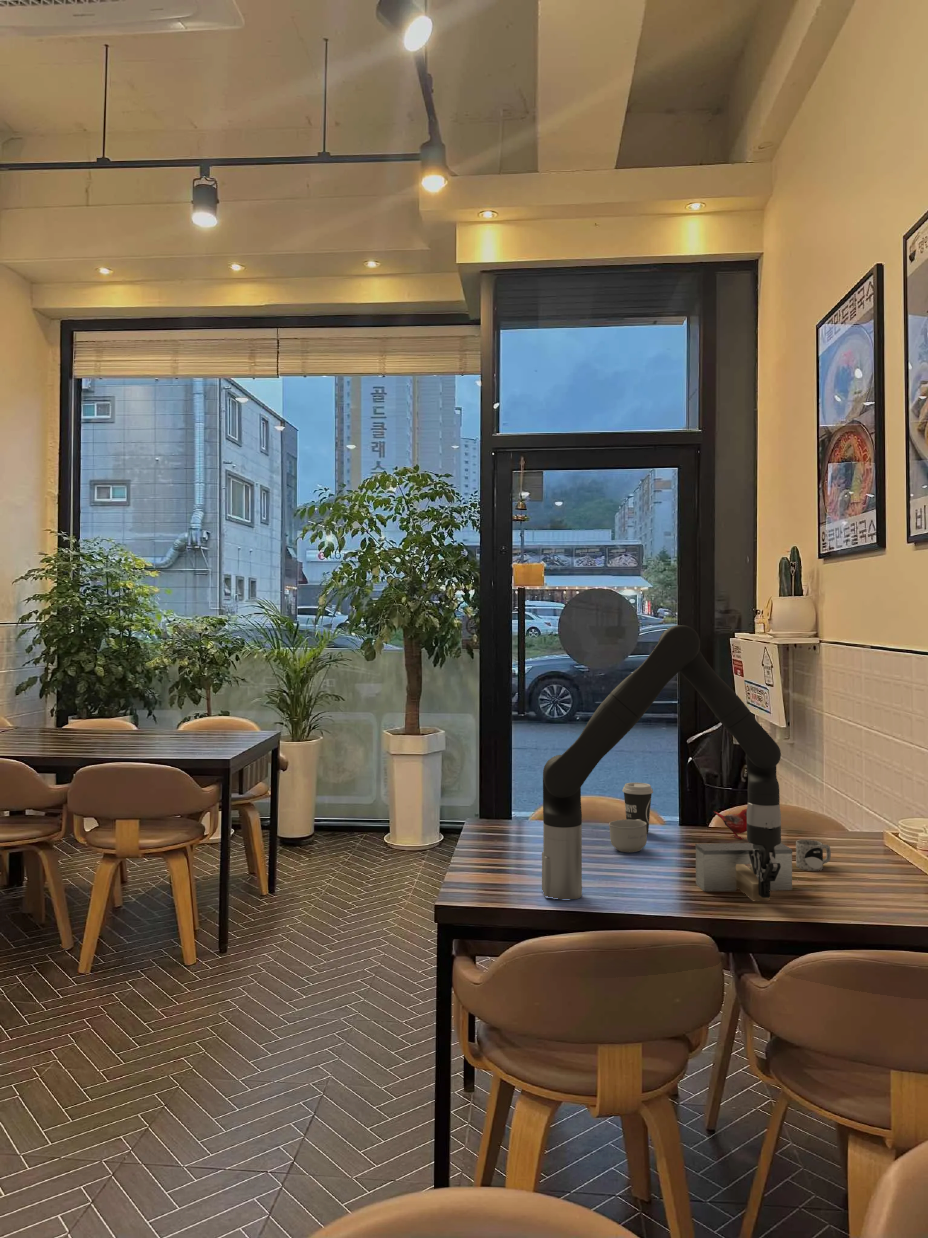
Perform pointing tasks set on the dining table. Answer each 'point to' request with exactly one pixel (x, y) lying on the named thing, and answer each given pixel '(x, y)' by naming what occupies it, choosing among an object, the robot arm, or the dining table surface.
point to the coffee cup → (638, 801)
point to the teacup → (628, 835)
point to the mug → (811, 855)
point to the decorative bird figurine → (735, 822)
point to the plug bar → (748, 882)
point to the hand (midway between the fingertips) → (764, 896)
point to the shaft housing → (721, 863)
